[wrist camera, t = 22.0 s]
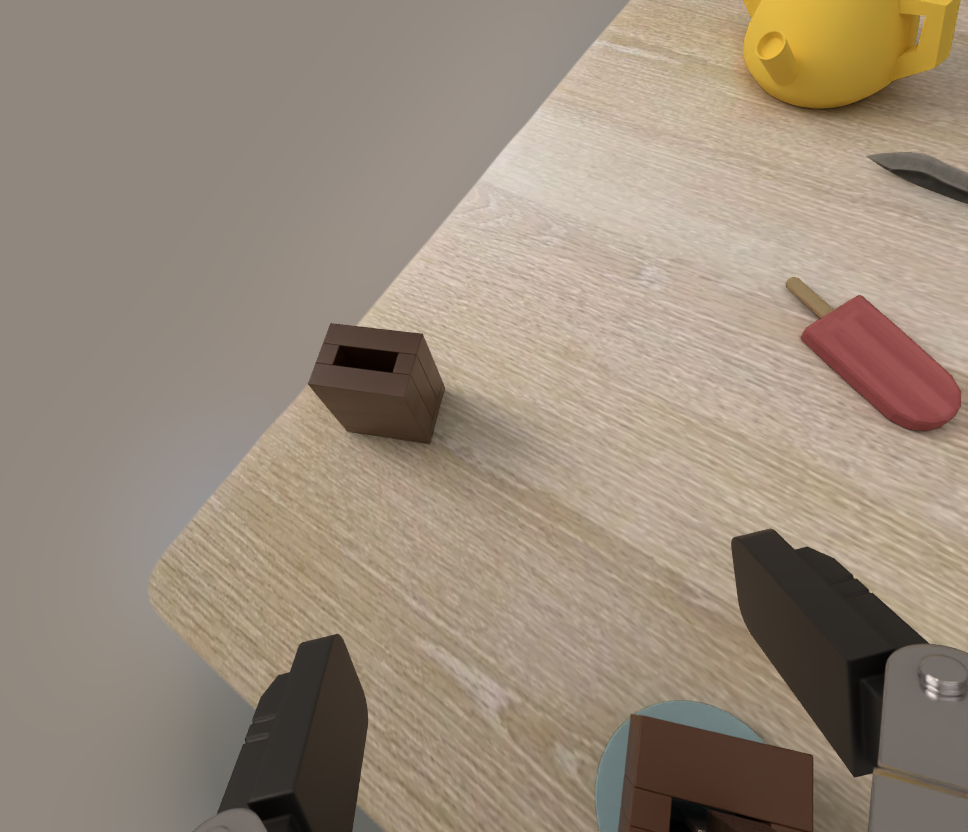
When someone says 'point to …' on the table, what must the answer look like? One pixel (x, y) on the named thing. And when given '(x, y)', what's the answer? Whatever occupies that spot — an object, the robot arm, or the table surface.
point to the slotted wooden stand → (698, 772)
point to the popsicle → (880, 361)
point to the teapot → (843, 46)
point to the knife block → (379, 382)
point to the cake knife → (715, 820)
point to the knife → (926, 173)
